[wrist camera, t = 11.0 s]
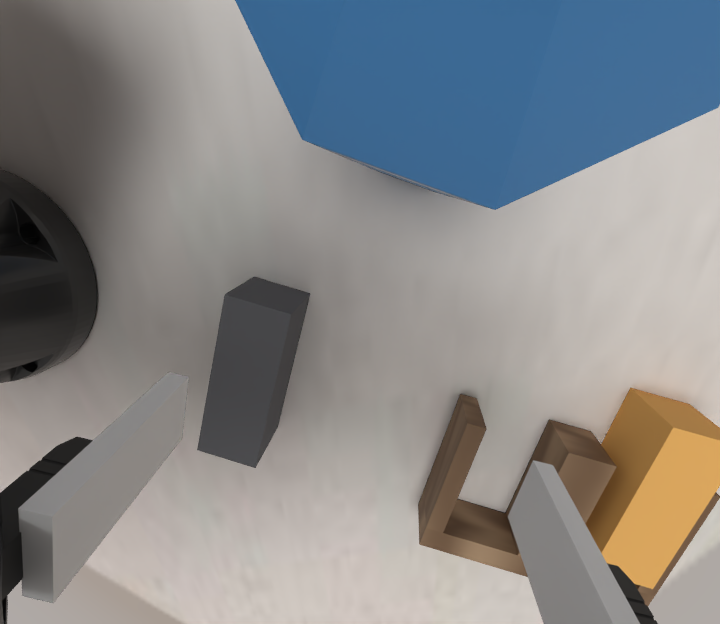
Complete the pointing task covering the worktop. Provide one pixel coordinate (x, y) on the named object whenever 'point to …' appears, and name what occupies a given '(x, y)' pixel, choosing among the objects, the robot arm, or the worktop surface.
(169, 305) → the worktop surface
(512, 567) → the bronze desk organizer
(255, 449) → the tall gray prism
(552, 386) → the worktop surface
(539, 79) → the blue water bottle
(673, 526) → the tall orange brick
